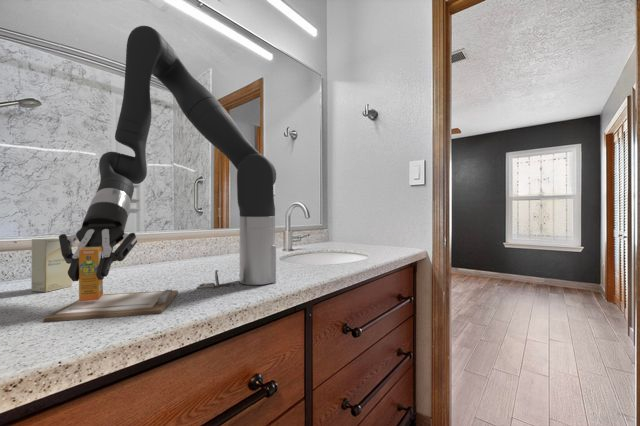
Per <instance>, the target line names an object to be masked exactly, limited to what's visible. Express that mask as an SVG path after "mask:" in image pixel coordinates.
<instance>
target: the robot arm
mask: <svg viewBox="0 0 640 426" xmlns="http://www.w3.org/2000/svg"><path fill="white" fill-rule="evenodd" d="M125 52H126V53H125V54H126V55H125V56H126V57H125V72H124V84H123V85H124V86H123V97H122V103H121V108H120V113H119V117H118V121H117V124H116V129H115V133H114V140H115V141H116V142H118V143H119V144H121V145H124V146H125V147H128V148H129V149H131V150H133V153H134V156H132V155H129V154H124V153H120V152H117V151H107V152H105V153H103V154H102V155H101V156H100V159H99V162H98V167H99V168H98V170H99V176H100V179H99V180H100V181H99V185H98V186H97V187H98V188H97V190H96V193H95V195H94V196H93V197H92V199H91V201H90V204H89V207H88V208H87V212H86V213H85V216H84V219H83V221H82V224H81V228H80V229H79V230H78V231H76V233H75V234H71V235H67V234H66V233H61V234H60V235H58V238H59V241H60V247H61V252H62V256H63V258H64V259H65V261H66V263H68V264H70V263H71V265H70V267H69V270H68V275H69V277H70V279H72V282H79V250H80V249H81V248H83V247H100V246H102V248H103V257H102V258H101V259H100V263H99V266H98V269H97V272H96V276H97V278H98V280H103V281H104V279H105V277H106V278H107V276H108V275H109V273H110V269H111V265H112V264H113V263H114V262H122V261H124V260H125V258H126V257H127V256H128V255H129V253H130V252H131V251H132V250H133V248H134V247H135V246H136V244H137V243H138V238H137V236H136V233H135V232H130V233H126V232H125V229H126V225H127V223H128V219H129V215H130V211H131V203H132V199H133V195H134V192H135V186H134V185H139V184H141V183H142V182H144V181H145V179H146V177H147V174H148V167H147V157H146V155H147V154H146V150H147V148H146V147H147V142H148V137H149V134H150V133H149V132H150V128H151V124H152V123H151V122H152V101H151V80H152V75H153V77H155V78H156V79H158V80H159V82H161V84H163V86H164V87H166V89H168V91H169V92H170V93H171V94H172V96H173V97H174V99H175V101H176V102H177V104H178V106H179V109H180V110H181V112H182V113H183V114H184V116H185V117H186V118H187V120H188V121H189V122H190V123H191V124H192V126H193V127H194V128H195V129H196V130H197V131H198V133H200V134H201V136H203V137H204V138H205V139H206V140H207V141H208V142H209V143H210V144H212V146H214V147H215V148H216V149H218V150H219V151H220V152H221V153H222V154H223V155H224V156H225V157H226V158H227V159H228V161H230V163H232V165H233V166H234V167H235V168H236V170H237V171H236V190H237V191H236V195H237V196H236V197H237V207H238V211H239V283H240V284H243V285H247V286H258V285H267V284H271V283H272V284H274V283H277V246H276V206H275V199H274V197H275V196H274V192H275V191H274V186H275V183H276V181H277V170H276V167H275V166H274V163H272V161H270V159H268V158H267V157H266V156H264V155H263V154H261V153H260V151H258V150H257V149H256V148H255V146H253V145H252V144H251V143H250V142H249V140H248V139H247V138H246V137H245V135H244V133H243V132H242V130H241V128H239V126H238V125H237V123H236V122H235V120H234V119H233V118H232V117H231V115H230V113H229V112H228V111H227V110H226V109H225V108H224V107H225V106H223V105H222V104H221V102H219V100H218V99H217V98H216V97H215V96H214V95H213V94H212V92H210V90H208V89H207V88H206V87H205V86H204V85H203V84H201V82H199V81H198V80H196V78H194V76H193V75H191V73H190V72H189V70H188V69H187V68H186V66H185V65H184V64H183V62H182V61H181V60H180V58H179V56H178V55H177V54H176V52H175V50H174V49H173V47H172V46H171V45H170V43H168V41H167V40H166V39H165V38H164V37H163V36H162V34H160V32H158V31H157V30H156V29H154V27H152V26H149V25H139V26H136V27H135V28H133V29H132V30H131V31H130V33H129V35H128V37H127V41H126V49H125ZM77 241H79V243H78V245H77V248H76V251H75V252H74V253H73V247H75V246H74V245H75V243H76V242H77ZM119 243H120V245H118V244H119ZM116 245H118V247H117V248H116V249H115V250H114V247H115V246H116ZM71 247H72V248H71Z"/></svg>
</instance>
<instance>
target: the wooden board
mask: <svg viewBox="0 0 640 426" xmlns="http://www.w3.org/2000/svg"><path fill="white" fill-rule="evenodd" d="M178 294H179V289H178V290H177V289H176V290H173V289H165V290H158V291H141V292H140V291H139V292H123V293H122V292H121V293H108V294H107V293H106V294H104V293H103V295H102V296H101V297H100V299H98V300H89V301H79V299H78V300H76V301H74V302H71V303H70V304H68V305H66V306H64V307H62V308H61V309H59V310H57V311H54V312H53V313H51V314H49V315H47V316H45V317H43V323H46V322H61V321H73V320H74V321H76V320H87V319H100V318H101V319H102V318H113V317H116V318H117V317H127V316H142V315H155V314H156V315H157V314H162V313H163V312H164V311H165V309H166V308H167V307H169V304H171V302H172V301H173V300H174V299H175V298H176V296H177V295H178Z"/></svg>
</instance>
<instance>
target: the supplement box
mask: <svg viewBox="0 0 640 426" xmlns="http://www.w3.org/2000/svg"><path fill="white" fill-rule="evenodd" d="M101 258H103V248H102V246H100V247H83V248H81V249H80V250H79V280H78V300H79V301H89V300H98V299H100V297H101V296H102V295H103V294H104V282H103V281H104V279H103V280H98V278H97V276H96V272H97V269H98V266H99V263H100V259H101Z"/></svg>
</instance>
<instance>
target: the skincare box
mask: <svg viewBox="0 0 640 426" xmlns="http://www.w3.org/2000/svg"><path fill="white" fill-rule="evenodd" d="M71 248H72V249H73V247H71ZM70 265H71V263H70V264H68V263H66V261H65V259H64V258H63V256H62V252H61V247H60V241H59V237H50V238H49V237H47V238H46V237H45V238H31V292H39V293H47V292H50V291H51V292H52V291H57V290H61V289H65V288H69V287H72V286H73V281H72V279H70V277H69V275H68V270H69V267H70Z"/></svg>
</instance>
